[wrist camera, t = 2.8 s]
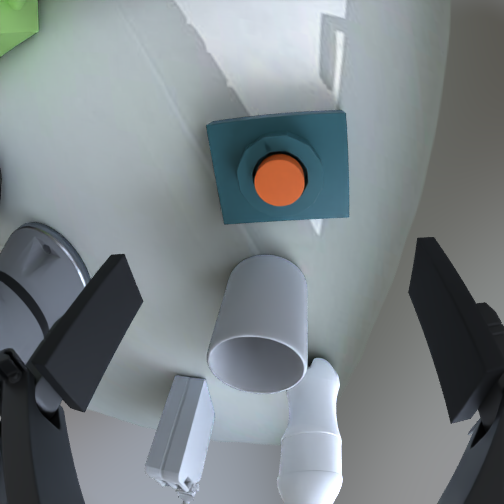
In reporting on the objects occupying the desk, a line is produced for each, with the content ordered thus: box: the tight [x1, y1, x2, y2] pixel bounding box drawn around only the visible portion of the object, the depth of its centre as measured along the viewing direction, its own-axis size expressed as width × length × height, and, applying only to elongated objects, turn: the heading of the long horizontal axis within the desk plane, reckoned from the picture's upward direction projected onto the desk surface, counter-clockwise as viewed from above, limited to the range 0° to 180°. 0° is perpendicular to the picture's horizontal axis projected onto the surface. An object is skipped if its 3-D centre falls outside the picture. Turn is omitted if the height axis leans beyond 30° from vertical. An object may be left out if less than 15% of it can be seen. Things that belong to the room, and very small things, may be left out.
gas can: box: [145, 375, 215, 504], centre depth 38 cm, size 15×5×25 cm, turn 2°
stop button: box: [254, 154, 304, 206], centre depth 23 cm, size 4×4×2 cm
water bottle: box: [277, 358, 343, 504], centre depth 30 cm, size 7×7×25 cm
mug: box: [207, 255, 308, 394], centre depth 30 cm, size 12×8×11 cm
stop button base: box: [206, 110, 349, 224], centre depth 25 cm, size 11×9×4 cm
